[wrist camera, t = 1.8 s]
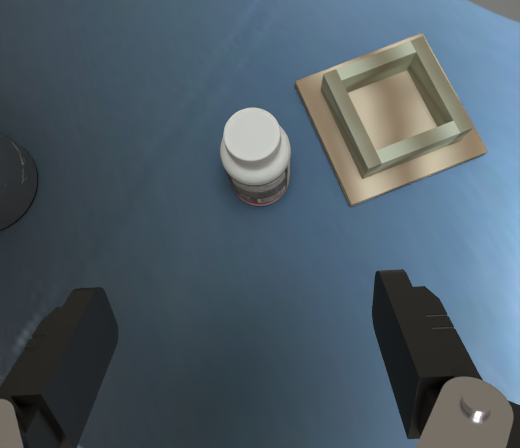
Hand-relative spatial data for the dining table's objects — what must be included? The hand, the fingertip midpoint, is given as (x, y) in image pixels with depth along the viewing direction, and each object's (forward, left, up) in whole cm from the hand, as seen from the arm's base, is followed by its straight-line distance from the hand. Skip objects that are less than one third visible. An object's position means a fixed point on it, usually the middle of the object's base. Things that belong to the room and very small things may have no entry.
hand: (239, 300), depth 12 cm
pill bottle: (+4, +11, -24) cm, 26 cm away
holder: (+17, +12, -23) cm, 31 cm away
